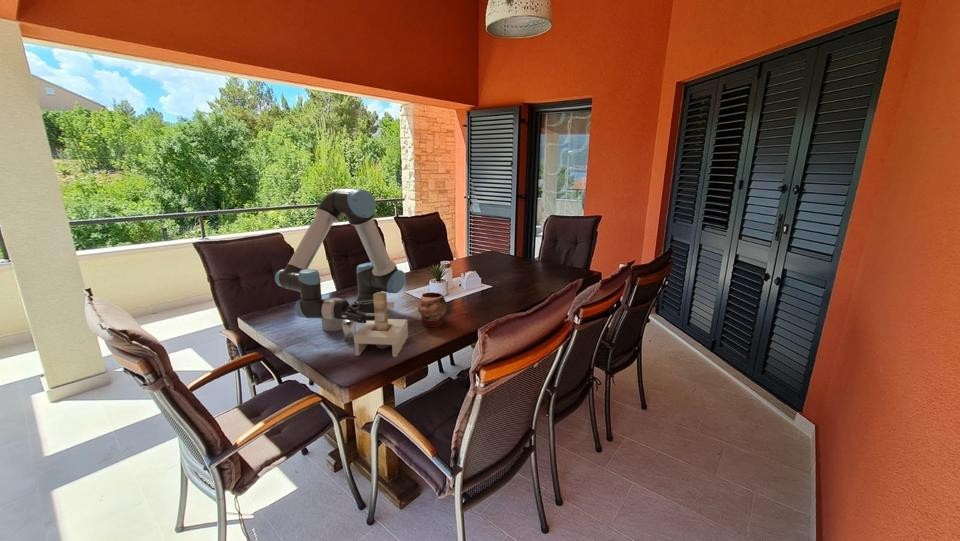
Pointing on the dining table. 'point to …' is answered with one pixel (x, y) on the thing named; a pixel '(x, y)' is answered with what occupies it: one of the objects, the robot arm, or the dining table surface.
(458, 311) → the dining table surface
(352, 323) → the glass salt shaker
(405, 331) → the miniature square stool
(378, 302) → the long pin
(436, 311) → the decorative planter
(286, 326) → the dining table surface
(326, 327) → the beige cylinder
